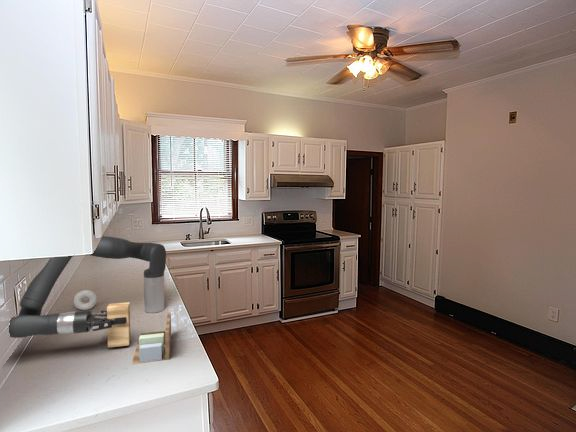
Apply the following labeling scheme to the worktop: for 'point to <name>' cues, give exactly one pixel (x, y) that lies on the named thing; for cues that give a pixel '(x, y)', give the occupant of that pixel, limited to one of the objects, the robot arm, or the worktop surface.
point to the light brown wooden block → (119, 325)
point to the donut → (85, 293)
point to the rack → (166, 342)
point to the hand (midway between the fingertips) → (127, 317)
